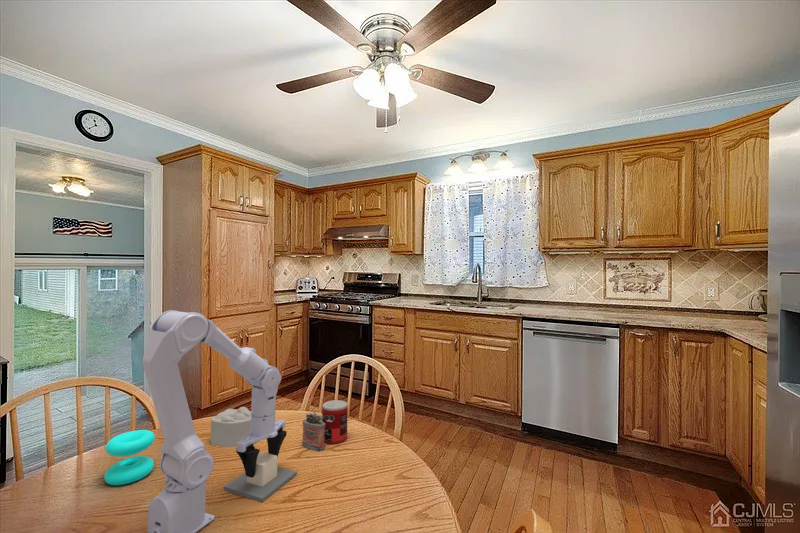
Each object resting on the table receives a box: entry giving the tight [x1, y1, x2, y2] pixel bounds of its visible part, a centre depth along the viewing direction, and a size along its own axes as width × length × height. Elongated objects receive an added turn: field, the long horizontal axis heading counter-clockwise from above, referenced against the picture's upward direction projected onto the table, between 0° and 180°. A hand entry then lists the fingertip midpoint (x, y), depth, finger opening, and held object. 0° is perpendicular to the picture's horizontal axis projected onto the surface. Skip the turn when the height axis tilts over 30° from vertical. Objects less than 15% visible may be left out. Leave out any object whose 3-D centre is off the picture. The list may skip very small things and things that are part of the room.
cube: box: [247, 451, 278, 487], centre depth 86 cm, size 5×5×5 cm
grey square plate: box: [223, 465, 298, 503], centre depth 86 cm, size 12×12×1 cm
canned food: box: [321, 399, 349, 445], centre depth 109 cm, size 8×8×11 cm
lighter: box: [301, 412, 326, 452], centre depth 104 cm, size 8×3×10 cm, turn 62°
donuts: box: [103, 429, 156, 486], centre depth 88 cm, size 10×10×10 cm
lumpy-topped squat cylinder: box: [209, 406, 251, 448], centre depth 109 cm, size 10×13×9 cm
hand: (261, 468), depth 86 cm, fingers open, 7 cm apart
